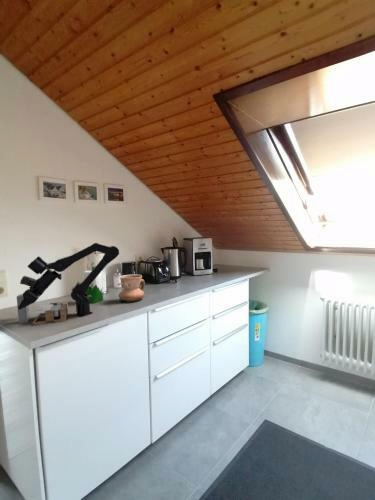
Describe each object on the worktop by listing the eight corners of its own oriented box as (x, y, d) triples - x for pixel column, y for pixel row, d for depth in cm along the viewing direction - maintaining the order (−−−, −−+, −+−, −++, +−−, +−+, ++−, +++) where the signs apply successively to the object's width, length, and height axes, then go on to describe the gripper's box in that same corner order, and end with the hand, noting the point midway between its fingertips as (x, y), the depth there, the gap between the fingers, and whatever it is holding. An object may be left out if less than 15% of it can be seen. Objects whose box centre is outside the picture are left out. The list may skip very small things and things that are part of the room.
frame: (65, 320, 131) (64, 309, 131) (32, 325, 127) (31, 312, 127) (68, 311, 146) (67, 301, 146) (39, 315, 142) (38, 304, 142)
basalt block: (29, 319, 136) (27, 293, 135) (27, 322, 132) (25, 295, 131) (21, 320, 135) (19, 294, 134) (18, 323, 131) (16, 296, 130)
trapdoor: (58, 316, 132) (58, 309, 132) (35, 317, 129) (35, 311, 129) (61, 309, 144) (61, 303, 143) (40, 311, 141) (40, 304, 140)
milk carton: (105, 300, 168) (103, 266, 167) (93, 304, 160) (91, 268, 159) (95, 298, 173) (93, 266, 171) (83, 302, 165) (80, 268, 164)
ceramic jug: (126, 305, 155) (125, 279, 154) (112, 300, 165) (111, 276, 164) (152, 299, 168) (152, 275, 167) (138, 295, 178) (137, 272, 177)
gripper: (35, 267, 142) (11, 291, 139) (26, 272, 124) (-1, 300, 122) (53, 281, 145) (31, 305, 142) (47, 288, 127) (21, 316, 125)
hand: (21, 306), depth 133 cm, fingers open, 9 cm apart
